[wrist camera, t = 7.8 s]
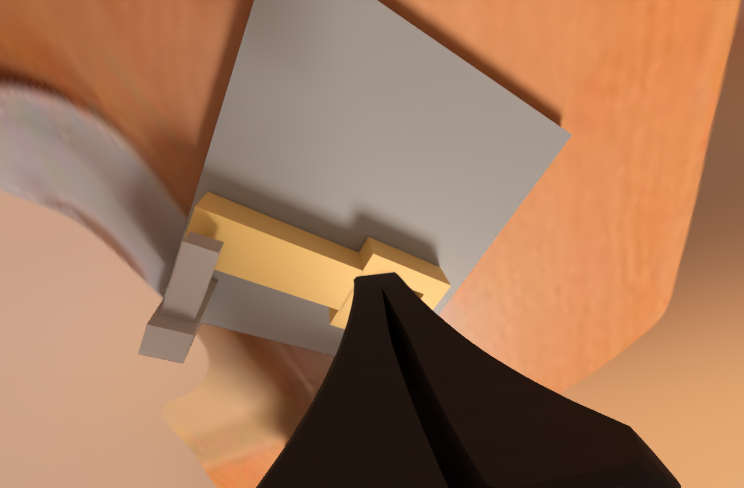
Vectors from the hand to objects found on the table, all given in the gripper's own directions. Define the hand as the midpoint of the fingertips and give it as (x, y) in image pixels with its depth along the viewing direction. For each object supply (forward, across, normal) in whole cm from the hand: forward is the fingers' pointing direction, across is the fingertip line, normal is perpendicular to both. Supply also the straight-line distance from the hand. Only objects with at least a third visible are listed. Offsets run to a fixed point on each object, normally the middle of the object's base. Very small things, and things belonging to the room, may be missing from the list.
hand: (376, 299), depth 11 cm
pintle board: (+10, 0, +2) cm, 10 cm away
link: (+9, +2, +4) cm, 10 cm away
